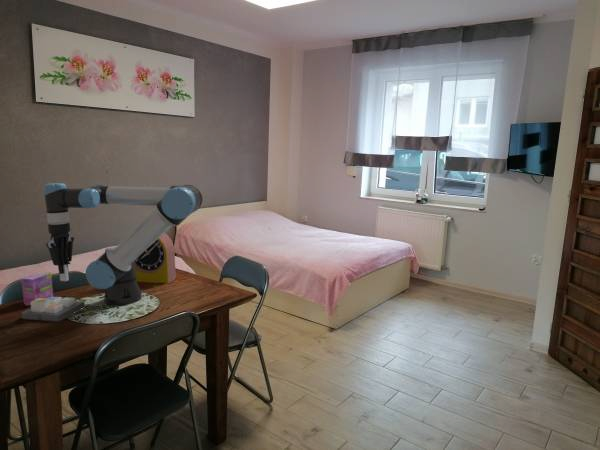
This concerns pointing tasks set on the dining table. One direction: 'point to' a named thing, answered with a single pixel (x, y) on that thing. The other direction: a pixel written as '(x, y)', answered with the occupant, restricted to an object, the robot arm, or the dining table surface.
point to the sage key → (67, 301)
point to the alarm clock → (157, 262)
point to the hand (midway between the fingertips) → (64, 280)
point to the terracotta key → (53, 308)
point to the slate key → (54, 300)
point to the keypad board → (53, 316)
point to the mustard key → (39, 305)
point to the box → (37, 287)
